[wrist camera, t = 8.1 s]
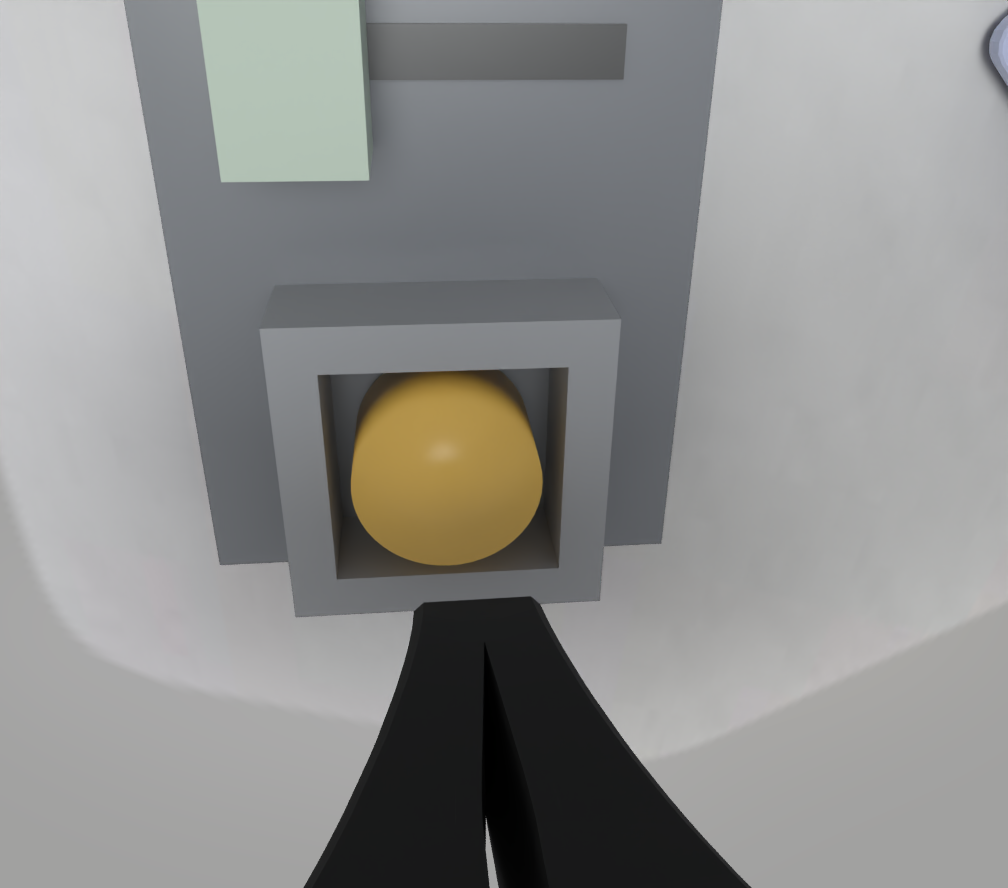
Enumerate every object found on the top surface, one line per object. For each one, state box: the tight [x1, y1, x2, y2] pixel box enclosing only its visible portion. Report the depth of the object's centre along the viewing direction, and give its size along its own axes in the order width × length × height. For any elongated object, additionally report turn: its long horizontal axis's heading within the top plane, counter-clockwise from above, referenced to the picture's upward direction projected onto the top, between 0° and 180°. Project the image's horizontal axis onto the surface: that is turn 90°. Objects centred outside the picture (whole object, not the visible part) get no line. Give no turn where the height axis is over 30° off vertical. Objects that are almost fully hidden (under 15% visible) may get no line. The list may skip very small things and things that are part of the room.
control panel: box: [124, 0, 723, 617], centre depth 14 cm, size 19×9×4 cm, turn 0°
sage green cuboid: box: [196, 0, 373, 182], centre depth 13 cm, size 3×2×2 cm
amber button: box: [351, 369, 543, 565], centre depth 16 cm, size 3×3×2 cm
